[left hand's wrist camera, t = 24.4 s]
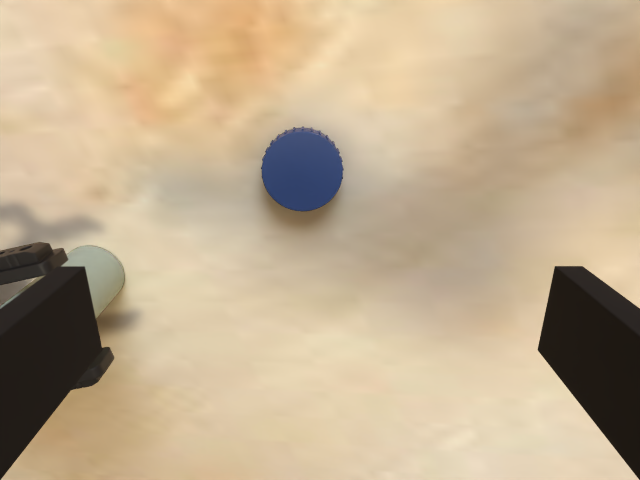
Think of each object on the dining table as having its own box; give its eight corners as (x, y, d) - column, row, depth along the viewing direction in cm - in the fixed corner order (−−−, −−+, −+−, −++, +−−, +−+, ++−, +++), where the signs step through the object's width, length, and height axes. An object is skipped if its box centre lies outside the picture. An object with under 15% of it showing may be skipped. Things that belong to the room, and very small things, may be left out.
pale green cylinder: (58, 245, 31) (-290, 492, 13) (120, 245, 31) (-140, 490, 13) (70, 299, 32) (-226, 586, 14) (128, 299, 32) (-92, 583, 15)
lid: (315, 218, 30) (315, 226, 29) (248, 179, 29) (245, 185, 28) (357, 154, 29) (360, 159, 27) (288, 110, 28) (287, 113, 26)
